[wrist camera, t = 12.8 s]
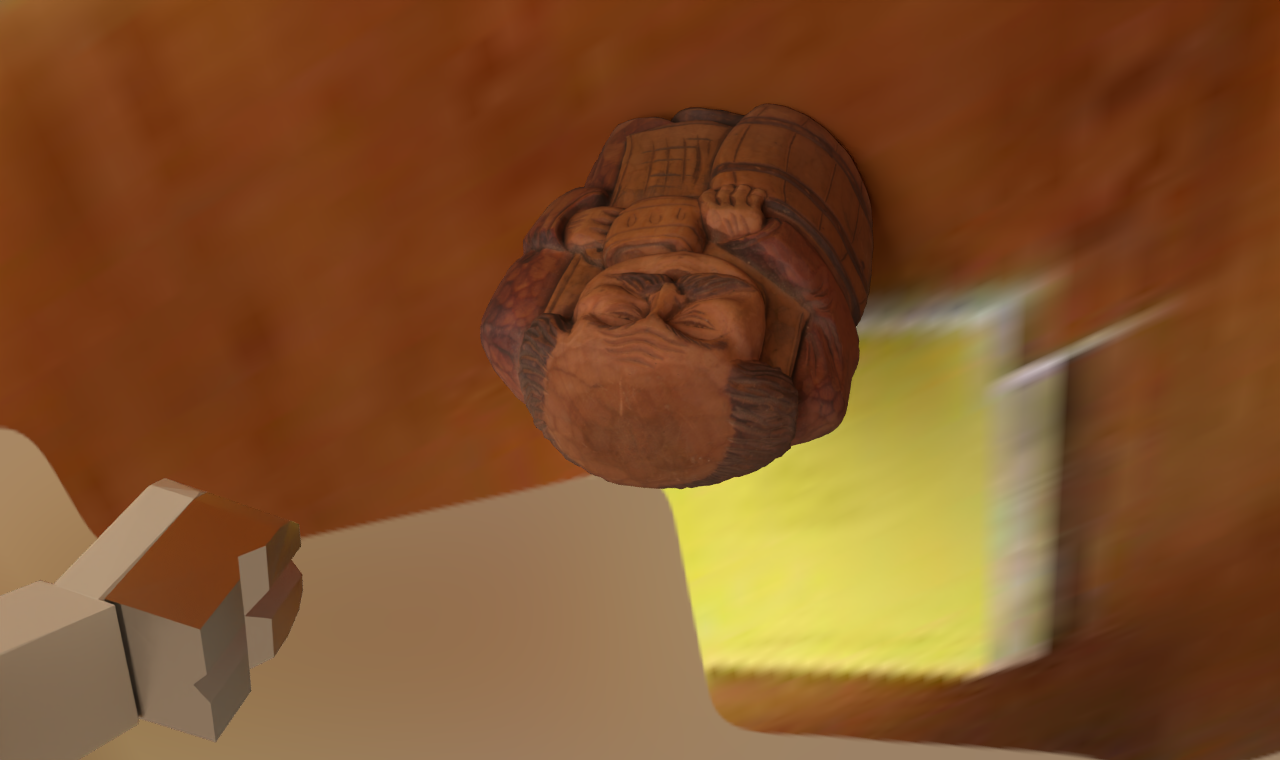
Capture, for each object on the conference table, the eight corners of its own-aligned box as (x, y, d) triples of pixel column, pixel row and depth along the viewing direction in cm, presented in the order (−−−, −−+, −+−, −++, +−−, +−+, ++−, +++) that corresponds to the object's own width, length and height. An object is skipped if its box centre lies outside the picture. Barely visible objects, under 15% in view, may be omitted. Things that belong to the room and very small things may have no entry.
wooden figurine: (883, 98, 40) (835, 351, 26) (879, 248, 44) (835, 543, 29) (588, 102, 43) (401, 330, 29) (607, 242, 47) (448, 506, 33)
